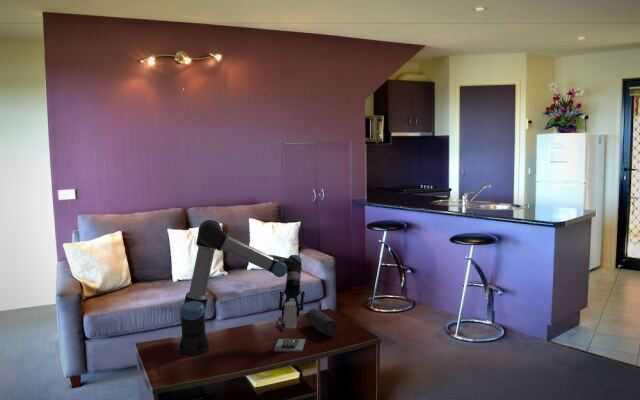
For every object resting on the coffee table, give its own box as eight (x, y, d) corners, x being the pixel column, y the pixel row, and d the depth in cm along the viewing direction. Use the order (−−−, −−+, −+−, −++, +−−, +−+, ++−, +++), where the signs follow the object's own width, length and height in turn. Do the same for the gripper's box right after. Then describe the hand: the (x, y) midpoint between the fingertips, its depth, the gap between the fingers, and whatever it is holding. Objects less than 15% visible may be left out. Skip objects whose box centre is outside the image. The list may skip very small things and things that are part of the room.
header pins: (281, 348, 262) (281, 340, 261) (282, 346, 263) (281, 339, 263) (295, 348, 261) (295, 340, 261) (295, 347, 263) (295, 339, 262)
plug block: (285, 328, 266) (284, 305, 264) (287, 324, 272) (286, 301, 270) (295, 328, 265) (294, 305, 264) (296, 324, 271) (295, 301, 270)
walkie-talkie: (274, 321, 307) (281, 332, 287) (274, 314, 306) (281, 325, 287) (289, 319, 309) (297, 331, 290) (289, 312, 308) (296, 323, 289)
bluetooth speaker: (305, 326, 296) (304, 309, 295) (320, 323, 300) (319, 306, 299) (322, 339, 276) (321, 320, 275) (338, 336, 279) (337, 318, 278)
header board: (274, 351, 261) (274, 349, 261) (278, 340, 275) (278, 338, 275) (302, 351, 260) (302, 349, 260) (305, 341, 274) (305, 338, 273)
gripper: (310, 285, 281) (308, 325, 266) (277, 285, 283) (273, 325, 268) (309, 278, 275) (306, 319, 261) (275, 278, 277) (270, 319, 262)
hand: (289, 322), depth 264 cm, fingers closed on plug block, 5 cm apart
